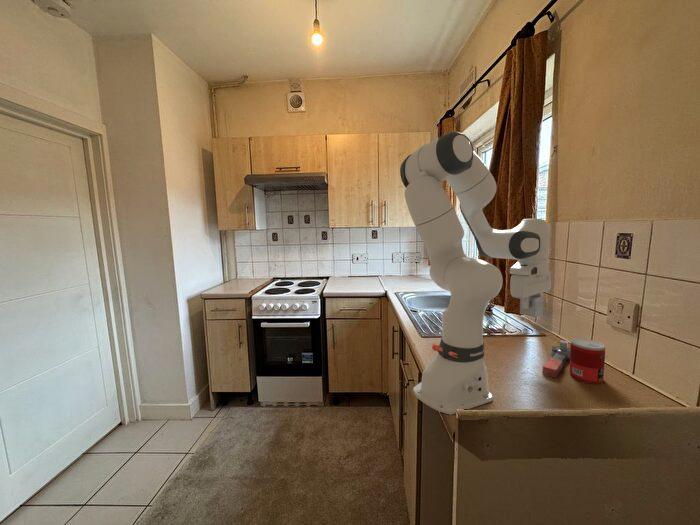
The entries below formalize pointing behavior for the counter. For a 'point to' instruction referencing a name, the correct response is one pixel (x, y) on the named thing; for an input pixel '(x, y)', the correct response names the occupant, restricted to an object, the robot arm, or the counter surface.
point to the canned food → (587, 360)
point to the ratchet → (557, 359)
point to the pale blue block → (533, 306)
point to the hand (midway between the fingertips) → (531, 306)
